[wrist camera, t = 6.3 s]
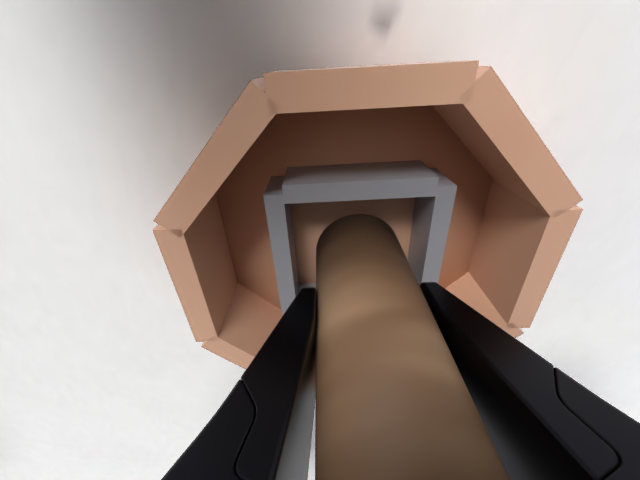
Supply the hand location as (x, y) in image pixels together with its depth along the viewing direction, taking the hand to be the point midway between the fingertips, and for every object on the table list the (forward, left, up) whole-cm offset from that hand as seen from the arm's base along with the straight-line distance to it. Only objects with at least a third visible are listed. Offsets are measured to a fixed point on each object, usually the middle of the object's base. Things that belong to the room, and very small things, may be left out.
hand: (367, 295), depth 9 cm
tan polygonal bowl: (0, 0, -4) cm, 4 cm away
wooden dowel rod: (0, 0, -2) cm, 2 cm away
